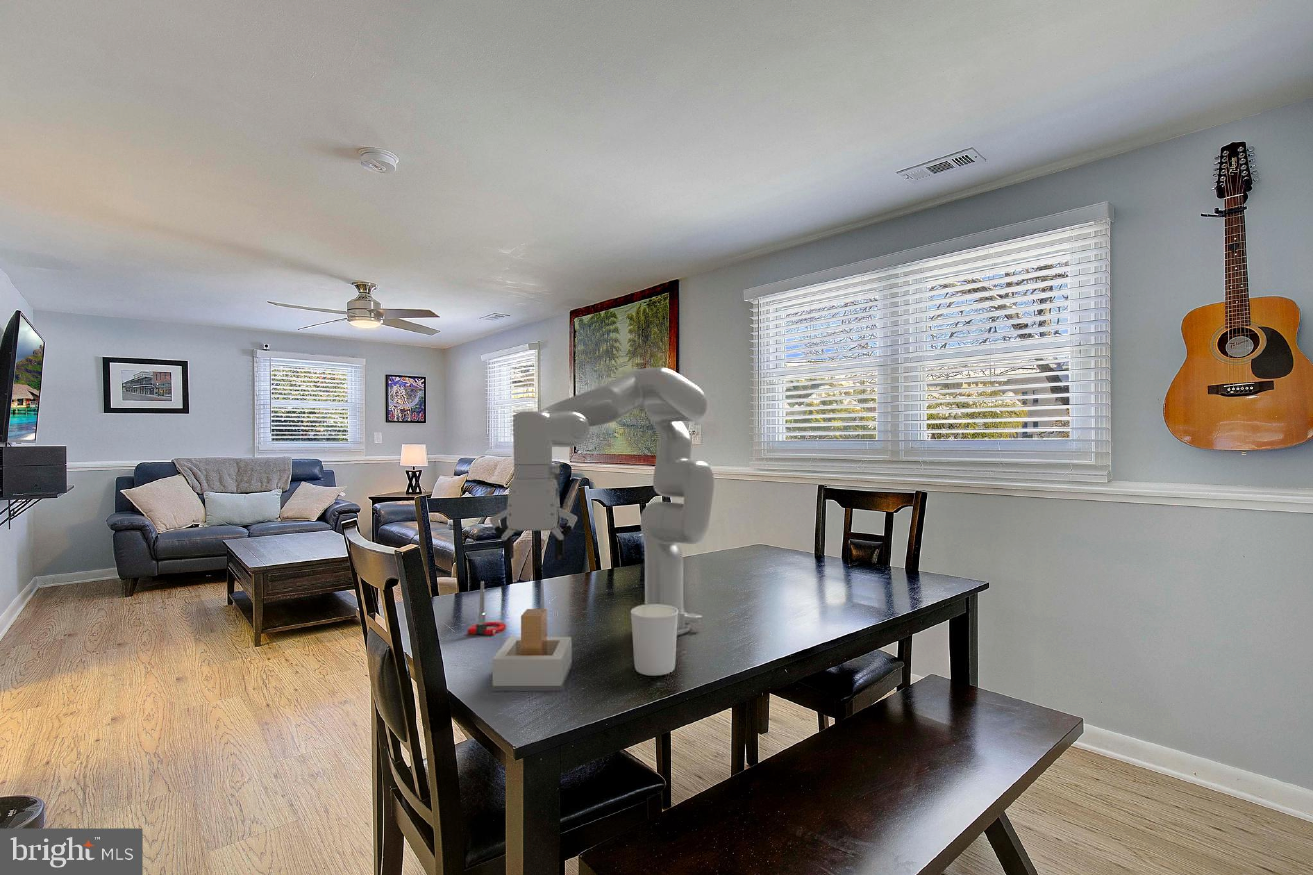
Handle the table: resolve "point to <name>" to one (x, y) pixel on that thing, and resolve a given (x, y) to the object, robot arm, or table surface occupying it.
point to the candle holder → (654, 638)
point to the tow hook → (482, 625)
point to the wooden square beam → (534, 632)
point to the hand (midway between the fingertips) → (534, 558)
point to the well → (532, 666)
